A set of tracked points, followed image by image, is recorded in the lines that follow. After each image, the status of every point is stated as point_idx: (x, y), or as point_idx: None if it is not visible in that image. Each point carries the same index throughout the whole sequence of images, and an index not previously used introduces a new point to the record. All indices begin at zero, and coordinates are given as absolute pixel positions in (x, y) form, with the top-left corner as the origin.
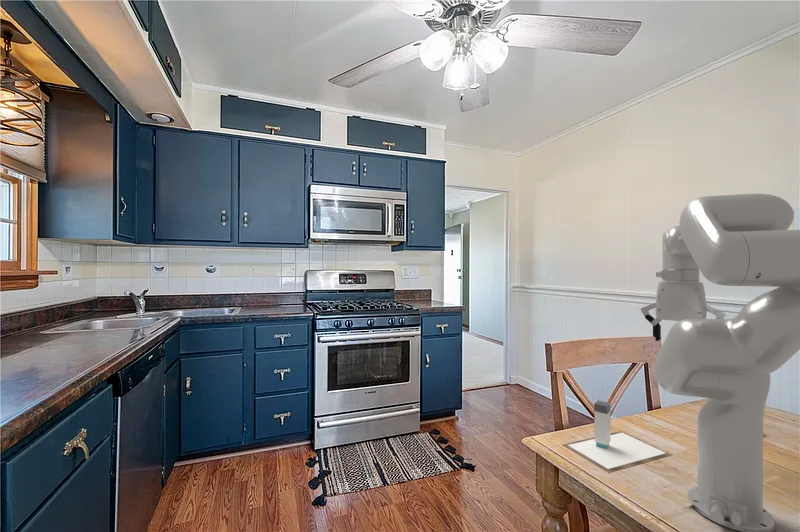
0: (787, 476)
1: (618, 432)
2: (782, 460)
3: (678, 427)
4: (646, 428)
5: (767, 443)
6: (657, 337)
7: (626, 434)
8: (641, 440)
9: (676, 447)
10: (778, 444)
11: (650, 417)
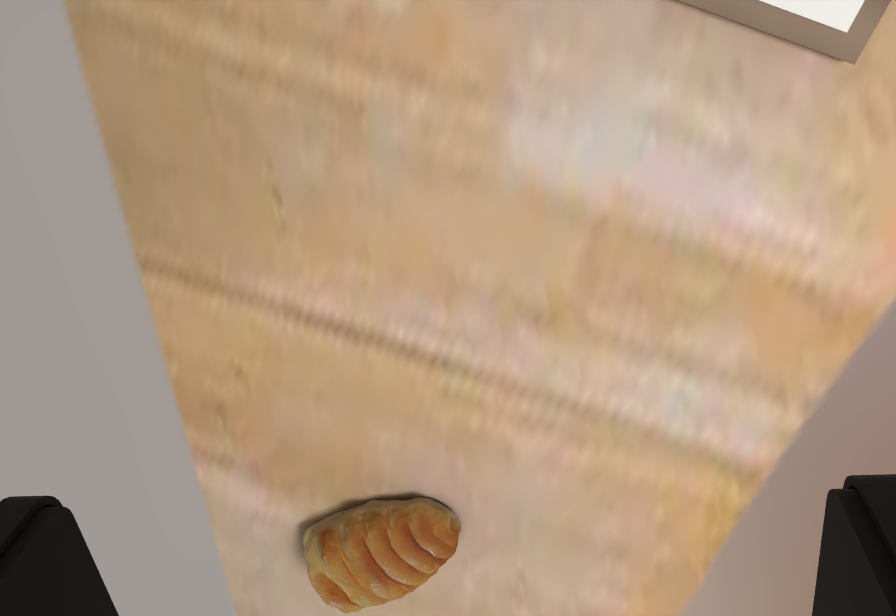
0: (132, 183)
1: (869, 25)
2: (191, 341)
3: (591, 401)
4: (728, 268)
5: (274, 478)
6: (886, 528)
7: (816, 33)
8: (718, 13)
9: (545, 122)
10: (245, 495)
11: (735, 438)
